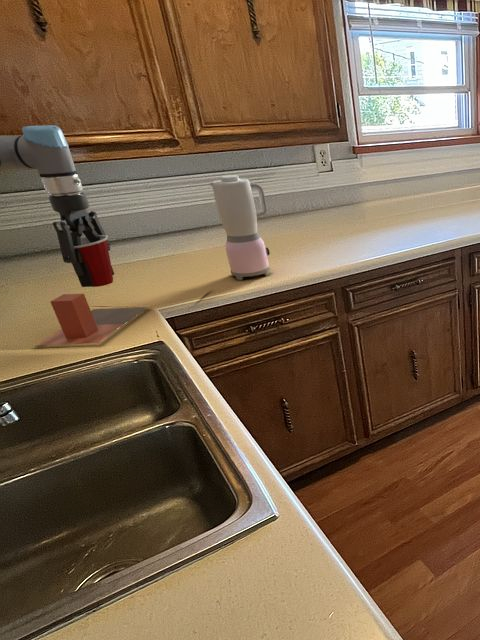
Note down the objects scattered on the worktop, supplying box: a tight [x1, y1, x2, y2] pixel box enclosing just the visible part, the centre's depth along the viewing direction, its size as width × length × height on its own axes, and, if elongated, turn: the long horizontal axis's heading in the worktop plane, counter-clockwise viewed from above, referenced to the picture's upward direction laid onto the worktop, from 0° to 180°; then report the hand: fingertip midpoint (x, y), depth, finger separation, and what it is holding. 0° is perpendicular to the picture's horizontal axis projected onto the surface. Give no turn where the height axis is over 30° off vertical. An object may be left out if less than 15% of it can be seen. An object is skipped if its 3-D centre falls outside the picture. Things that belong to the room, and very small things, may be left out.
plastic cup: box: [74, 234, 114, 288], centre depth 136 cm, size 11×11×12 cm
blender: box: [208, 174, 271, 281], centre depth 170 cm, size 16×12×32 cm
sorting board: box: [35, 306, 148, 349], centre depth 138 cm, size 15×24×1 cm, turn 4°
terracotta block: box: [49, 293, 98, 339], centre depth 130 cm, size 5×5×10 cm
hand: (98, 280), depth 139 cm, fingers closed on plastic cup, 9 cm apart
